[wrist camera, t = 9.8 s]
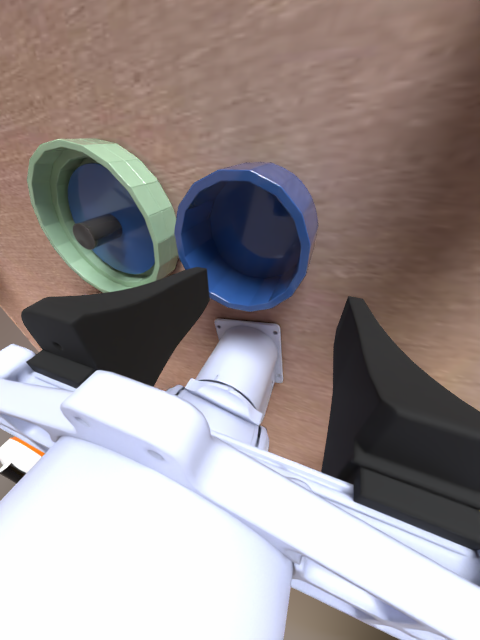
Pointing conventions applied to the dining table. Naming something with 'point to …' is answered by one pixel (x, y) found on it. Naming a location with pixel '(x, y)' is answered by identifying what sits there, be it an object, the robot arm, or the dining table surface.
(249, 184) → the pot
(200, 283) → the robot arm
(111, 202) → the lid
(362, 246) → the dining table surface
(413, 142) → the dining table surface
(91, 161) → the bowl
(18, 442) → the shaker bottle
